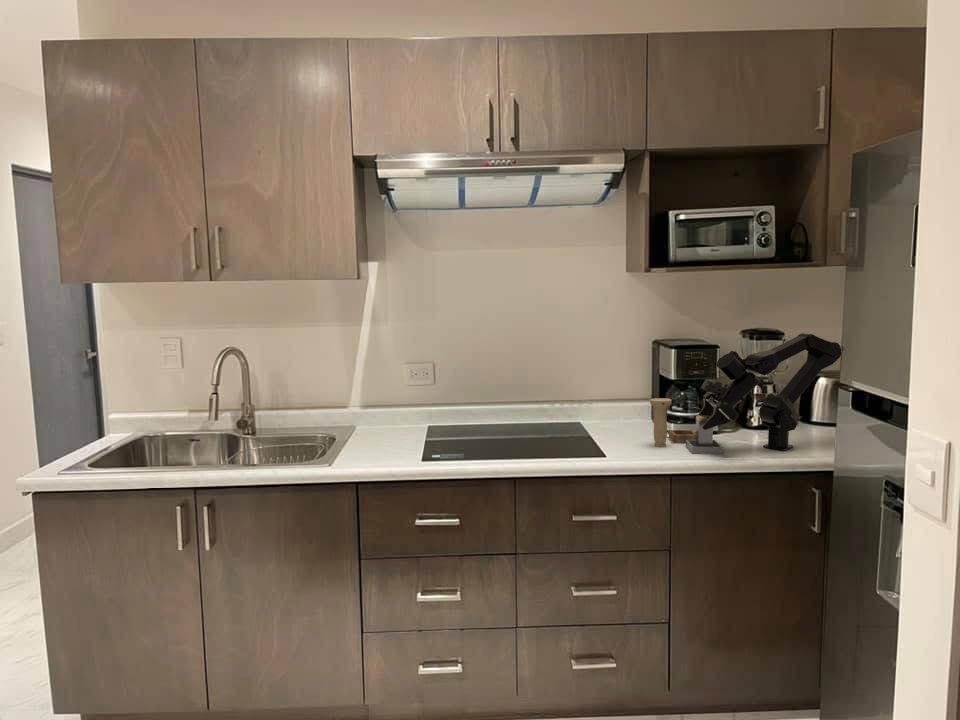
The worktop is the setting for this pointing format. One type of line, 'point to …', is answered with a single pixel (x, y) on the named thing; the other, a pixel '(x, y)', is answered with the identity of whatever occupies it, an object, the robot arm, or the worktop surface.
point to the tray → (704, 448)
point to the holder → (681, 436)
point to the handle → (660, 420)
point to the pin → (703, 432)
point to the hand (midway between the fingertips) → (699, 425)
